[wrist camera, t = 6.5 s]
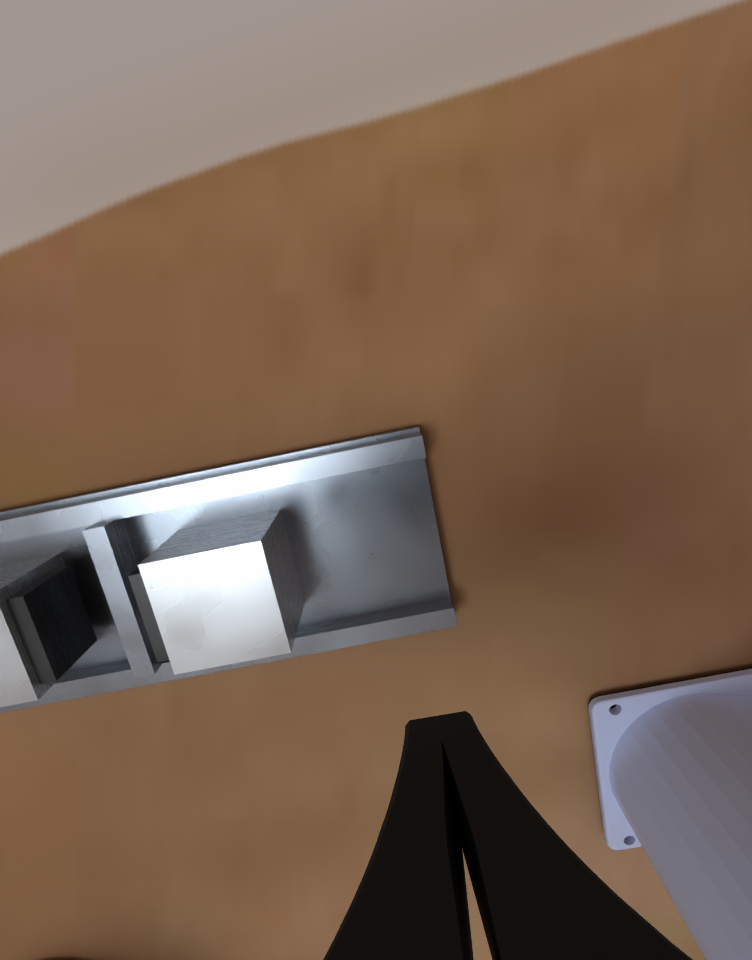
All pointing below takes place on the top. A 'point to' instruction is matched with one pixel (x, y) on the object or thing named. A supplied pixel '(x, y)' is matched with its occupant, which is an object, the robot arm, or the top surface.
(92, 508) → the rail
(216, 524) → the free white block
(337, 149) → the top surface
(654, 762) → the robot arm
